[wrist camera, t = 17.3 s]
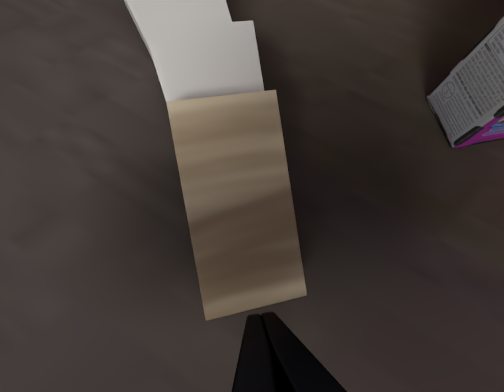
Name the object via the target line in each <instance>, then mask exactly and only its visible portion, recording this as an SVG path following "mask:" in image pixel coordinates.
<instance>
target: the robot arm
mask: <svg viewBox="0 0 504 392" xmlns="http://www.w3.org/2000/svg"><path fill="white" fill-rule="evenodd" d="M232 392H347V391H346V390H345V389H344V388H343V387H342V386H341V385H340V384H339V383H338V381H337V380H336V379H335V378H334V377H333V376H332V375H331V374H330V373H329V372H328V371H327V369H326V368H325V367H324V366H323V365H322V364H321V363H320V362H319V361H318V360H317V359H316V358H315V356H314V355H313V354H312V353H311V352H310V351H309V350H308V349H307V348H306V347H305V346H304V344H303V343H302V342H301V341H300V340H299V339H298V338H297V337H296V336H295V335H294V334H293V332H292V331H291V330H290V329H289V328H288V327H287V326H286V325H285V324H284V323H283V322H282V321H281V319H280V318H279V317H278V316H277V315H276V314H275V313H274V312H265V313H262V314H261V315H260V314H251V315H248V316H247V320H246V325H245V329H244V334H243V339H242V344H241V349H240V353H239V358H238V363H237V368H236V373H235V377H234V382H233V387H232Z"/></svg>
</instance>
